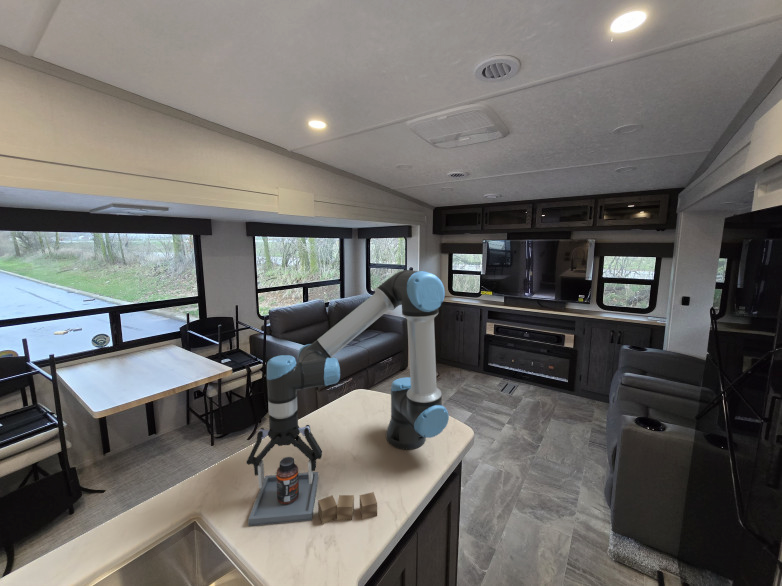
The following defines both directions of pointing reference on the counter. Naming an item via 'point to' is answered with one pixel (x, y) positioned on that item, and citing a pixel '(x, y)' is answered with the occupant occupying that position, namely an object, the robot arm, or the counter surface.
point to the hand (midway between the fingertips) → (286, 482)
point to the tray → (275, 512)
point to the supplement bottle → (287, 481)
